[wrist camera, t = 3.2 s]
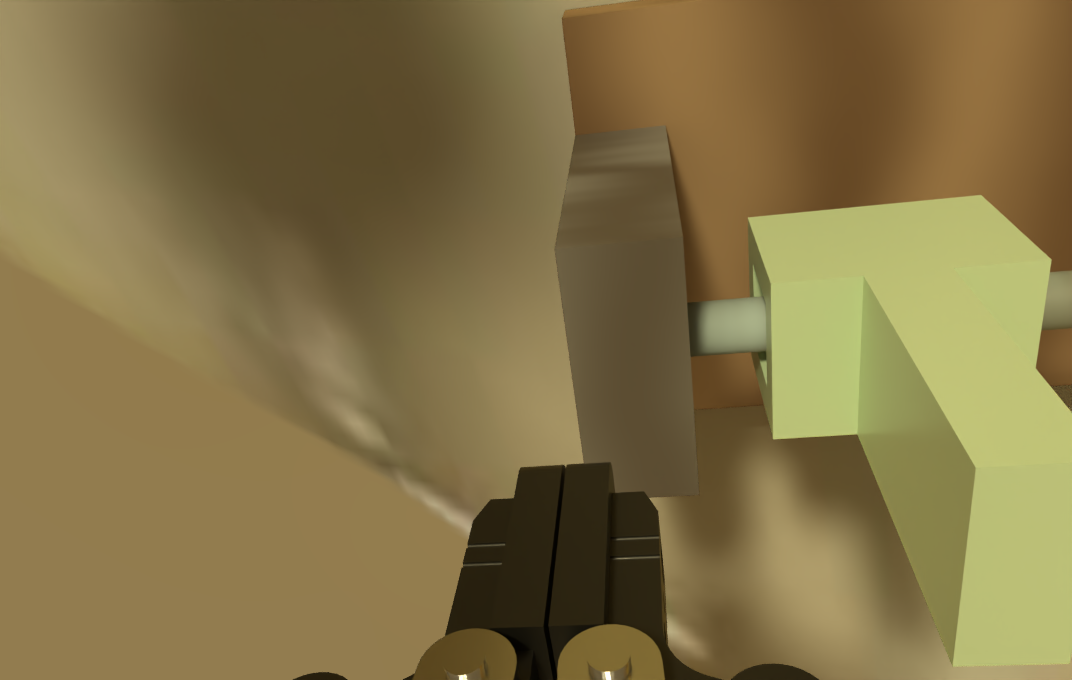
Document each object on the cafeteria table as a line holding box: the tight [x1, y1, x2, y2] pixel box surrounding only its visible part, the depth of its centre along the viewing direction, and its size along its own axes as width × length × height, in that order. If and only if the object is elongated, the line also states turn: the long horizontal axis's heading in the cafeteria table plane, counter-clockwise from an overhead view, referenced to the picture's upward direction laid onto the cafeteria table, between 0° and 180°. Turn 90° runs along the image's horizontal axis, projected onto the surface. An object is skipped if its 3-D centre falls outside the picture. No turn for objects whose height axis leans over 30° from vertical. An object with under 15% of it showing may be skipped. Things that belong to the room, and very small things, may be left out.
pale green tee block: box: [748, 195, 1072, 667], centre depth 16 cm, size 5×4×10 cm
